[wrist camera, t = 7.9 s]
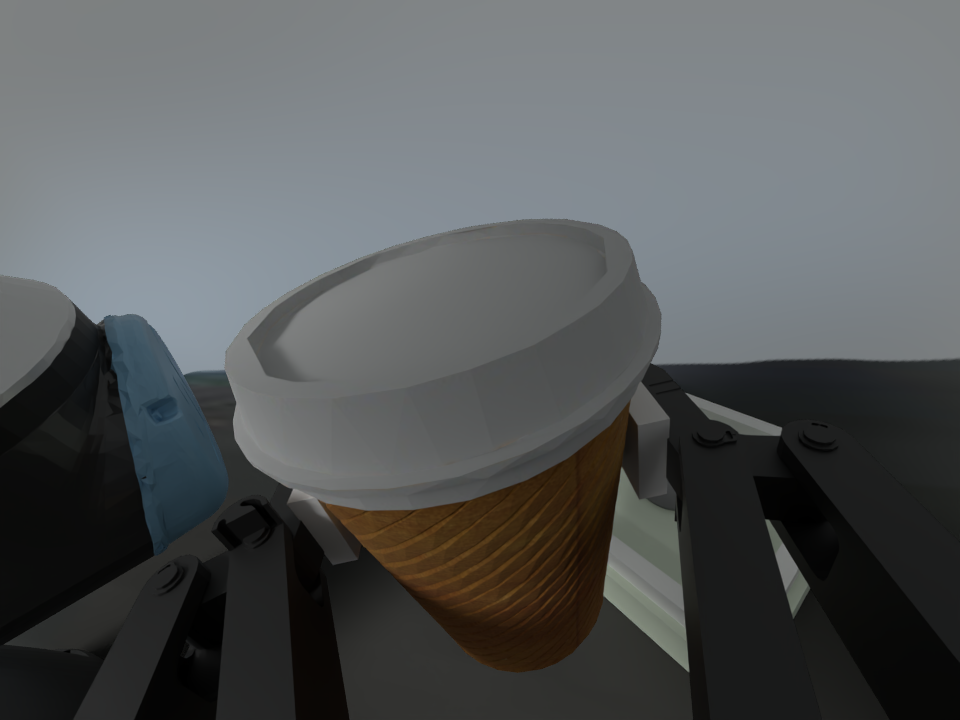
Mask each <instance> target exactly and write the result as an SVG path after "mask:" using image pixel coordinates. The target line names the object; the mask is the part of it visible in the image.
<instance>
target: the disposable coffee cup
mask: <svg viewBox="0 0 960 720" xmlns="http://www.w3.org/2000/svg"><path fill="white" fill-rule="evenodd" d="M660 334H661V312H660V309H659V306H658V303H657V301H656V298H655V296H654V295H653V294H652V293H651V291H650V290H649V289H648V288H647V286H646V285H645V284H643V283H642V282H641V280H640V277H639V273H638V269H637V266H636V262H635V258H634V255H633V251H632V249H631V247H630V245H629V243H628V241H627V239H625V238H624V237H623V236H621V235H620V234H619V233H618V232H617V231H614V230H612V229H609V228H607V227H604V226H602V225H598V224H592V223H586V222H580V221H574V220H568V219H529V220H516V221H508V222H500V223H493V224H485V225H478V226H471V227H466V228H462V229H457V230H453V231H448V232H445V233H440V234H436V235H431V236H427V237H423V238H420V239H416V240H413V241H409V242H406V243H403V244H399V245H395V246H392V247H389V248H387V249H384V250H381V251H378V252H375V253H373V254H370V255H367V256H364V257H361V258H359V259H356V260H354V261H352V262H349V263H347V264H345V265H342V266H340V267H338V268H335V269H333V270H331V271H329V272H326V273H324V274H322V275H320V276H318V277H316V278H314V279H312V280H310V281H309V282H307V283H304V284H303V285H301V286H299V287H297V288H295V289H293V290H291V291H289V292H287V293H286V294H284V295H283V296H281V297H280V298H278V299H277V300H275V301H274V302H272V303H271V304H270V305H268V306H267V307H265V308H264V309H262V310H261V311H260V312H259V313H258V314H256V315H255V316H254V317H253V318H252V319H250V320H249V321H248V322H247V323H246V324H245V325H244V326H243V328H242V329H241V330H240V332H239V333H238V335H237V336H236V337H235V339H234V340H233V342H232V343H231V345H230V346H229V347H228V349H227V350H226V355H225V371H226V374H227V377H228V380H229V382H230V385H231V388H232V391H233V394H234V397H235V399H236V402H237V404H236V409H235V414H234V419H233V426H234V434H235V440H236V442H237V443H238V445H239V446H240V448H241V450H242V451H243V453H244V454H245V456H246V458H247V459H248V461H249V462H250V463H251V464H252V465H253V466H254V467H255V468H257V469H259V470H260V471H262V472H264V473H265V474H267V475H268V476H270V477H272V478H273V479H275V480H276V481H278V482H280V483H281V484H283V485H284V486H286V487H288V488H292V489H297V490H299V491H301V492H304V493H306V494H308V495H310V496H312V497H314V498H316V499H318V500H320V501H321V502H322V503H326V507H327V508H328V509H329V510H330V511H331V512H332V513H333V514H334V515H335V516H336V517H337V518H338V519H339V520H341V521H340V522H341V523H342V524H343V525H344V526H345V527H346V528H347V529H348V530H349V531H350V532H351V533H352V534H354V535H355V537H356V538H357V539H358V541H359V542H360V543H361V544H362V545H363V547H365V548H366V549H367V550H368V551H369V552H370V553H371V554H372V555H373V556H374V557H375V558H376V559H377V560H378V561H379V562H380V563H381V564H382V565H383V566H384V567H385V568H386V569H387V570H388V571H389V572H390V573H391V574H392V576H393V577H394V578H395V579H396V580H397V581H398V582H399V583H400V584H401V585H402V586H403V587H404V588H405V589H406V590H407V591H408V592H409V594H410V595H411V596H412V597H413V598H414V599H415V600H416V601H417V602H418V603H419V604H420V605H421V606H422V607H423V608H424V609H425V610H426V611H427V612H428V613H429V614H430V615H431V616H432V617H433V618H434V619H435V620H436V621H437V622H438V623H439V624H440V625H441V626H442V627H443V628H444V630H445V631H446V632H447V633H448V634H449V635H450V636H451V637H452V638H453V639H454V640H455V641H456V643H457V644H458V645H459V646H460V647H461V648H462V649H463V650H464V651H465V652H466V653H467V654H468V655H470V656H471V657H473V658H474V659H476V660H477V661H478V662H480V663H482V664H484V665H487V666H489V667H492V668H495V669H497V670H502V671H510V672H517V673H518V672H525V671H532V670H538V669H543V668H545V667H548V666H551V665H553V664H556V663H558V662H559V661H561V660H562V659H564V658H565V657H567V656H568V655H570V654H571V653H573V652H574V650H575V649H576V648H577V647H578V646H579V645H580V644H581V643H582V641H583V640H584V639H585V638H586V637H587V636H588V635H589V633H590V631H591V630H592V628H593V626H594V624H595V623H596V621H597V618H598V615H599V612H600V609H601V606H602V602H603V593H604V584H605V576H606V571H607V563H608V556H609V550H610V543H611V538H612V530H613V522H614V514H615V506H616V501H617V496H618V486H619V482H620V473H621V467H622V460H623V452H624V447H625V438H626V431H627V426H628V416H629V407H630V402H631V398H632V397H633V396H634V394H635V392H636V390H637V387H638V384H639V383H640V382H641V381H642V379H643V377H644V375H645V373H646V371H647V369H648V367H649V365H650V363H651V361H652V359H653V357H654V355H655V353H656V351H657V349H658V345H659V339H660Z"/></svg>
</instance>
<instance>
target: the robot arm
mask: <svg viewBox="0 0 960 720" xmlns="http://www.w3.org/2000/svg"><path fill="white" fill-rule="evenodd" d="M622 468H623V470H624V472H625V473H626V475H627V477H628V479H629V481H630V483H631V485H632V487H633V489H634V491H635V492H636V494H637V496H638V498H639V500H640V499H645V498H650V497H654V496H659V495H664V494H667V480H668V481H669V483H670V485H671V486H672V488H673V489H674V491H675V492H676V502H675V520H674V521H676V522H677V528H678V541H679V553H680V565H681V577H682V589H683V601H684V614H685V626H686V638H687V650H688V662H689V674H690V686H691V699H692V711H693V720H822V718H821V714H820V711H819V707H818V704H817V700H816V696H815V693H814V689H813V686H812V682H811V679H810V675H809V672H808V668H807V665H806V661H805V658H804V654H803V651H802V647H801V644H800V640H799V637H798V633H797V630H796V626H795V623H794V619H793V616H792V612H791V609H790V605H789V601H788V598H787V594H786V591H785V587H784V584H783V580H782V577H781V573H780V570H779V566H778V563H777V559H776V556H775V552H774V549H773V545H772V542H771V538H770V535H769V531H768V528H767V524H766V521H765V519H766V520H769V521H770V522H771V524H772V526H773V527H774V529H775V531H776V532H777V534H778V536H779V537H780V539H781V540H782V542H783V544H784V545H785V547H786V549H787V550H788V552H789V554H790V555H791V557H792V559H793V560H794V562H795V564H796V565H797V567H798V569H799V570H800V572H801V574H802V575H803V577H804V579H805V580H806V582H807V583H808V585H809V587H810V588H811V590H812V592H813V593H814V595H815V597H816V598H817V600H818V602H819V603H820V605H821V607H822V608H823V610H824V612H825V613H826V615H827V617H828V618H829V620H830V621H831V623H832V625H833V626H834V628H835V630H836V631H837V633H838V635H839V636H840V638H841V640H842V641H843V643H844V645H845V646H846V648H847V650H848V651H849V653H850V655H851V656H852V658H853V660H854V661H855V663H856V664H857V666H858V668H859V669H860V671H861V673H862V674H863V676H864V678H865V679H866V681H867V683H868V684H869V686H870V688H871V689H872V691H873V693H874V694H875V696H876V698H877V699H878V701H879V703H880V704H881V706H882V707H883V709H884V711H885V712H886V714H887V716H888V717H889V719H890V720H960V542H959V541H958V540H957V539H956V538H955V537H954V536H953V535H952V534H951V533H950V532H949V531H948V530H947V529H946V528H945V527H944V526H943V525H942V524H941V523H940V522H939V521H938V520H937V519H936V518H935V517H934V516H933V515H932V514H931V513H930V512H929V511H928V510H927V509H926V508H925V507H924V506H923V505H922V504H921V503H920V502H919V501H917V500H916V499H915V498H914V497H913V496H912V495H911V494H910V493H909V492H908V491H907V490H906V489H905V488H904V487H903V486H902V485H901V484H900V483H899V482H898V481H897V480H896V479H895V478H894V477H893V476H892V475H891V474H890V473H889V472H888V471H887V470H886V469H885V468H884V467H883V466H882V465H881V464H880V463H879V462H878V461H877V460H876V459H875V458H874V457H873V456H872V455H871V454H870V453H869V452H868V451H867V450H866V449H865V448H864V447H863V446H861V445H860V444H859V443H858V442H857V441H856V440H855V439H854V438H853V437H852V436H851V435H850V434H848V433H847V432H845V431H844V430H843V429H841V428H839V427H836V426H834V425H832V424H829V423H826V422H821V421H817V420H796V421H792V422H789V423H787V424H786V425H785V426H783V427H782V431H781V435H780V436H766V435H744V434H739V433H738V431H736V430H735V429H734V428H732V427H731V426H730V425H727V424H725V423H722V422H720V421H716V420H710V419H709V418H708V417H707V416H706V415H705V414H704V413H703V412H702V411H701V409H700V408H699V407H698V406H697V405H696V404H695V403H694V402H693V401H692V400H691V399H690V398H689V396H688V395H687V394H686V393H685V392H684V391H683V390H681V389H680V387H679V386H678V384H677V383H676V382H674V381H673V379H672V378H671V377H670V376H669V375H668V374H667V373H666V371H665V370H663V369H661V368H659V367H657V366H655V365H653V364H651V363H650V365H649V367H648V369H647V371H646V373H645V375H644V377H643V379H642V381H641V382H640V383H639V384H638V387H637V390H636V392H635V394H634V396H633V397H632V398H631V402H630V407H629V416H628V426H627V431H626V438H625V447H624V452H623V460H622ZM227 491H228V475H227V470H226V467H225V464H224V461H223V458H222V455H221V453H220V450H219V448H218V446H217V443H216V441H215V438H214V436H213V434H212V432H211V430H210V427H209V425H208V423H207V421H206V419H205V417H204V415H203V413H202V411H201V409H200V407H199V405H198V402H197V400H196V398H195V397H194V395H193V393H192V391H191V389H190V387H189V385H188V383H187V381H186V380H185V378H184V376H183V374H182V372H181V370H180V369H179V367H178V365H177V364H176V362H175V360H174V358H173V357H172V355H171V353H170V352H169V350H168V348H167V347H166V345H165V344H164V342H163V341H162V339H161V337H160V336H159V335H158V333H157V332H156V331H155V329H154V328H152V327H151V326H150V325H149V324H148V323H147V321H146V320H145V319H144V318H143V317H141V316H139V315H135V314H127V315H124V316H116V315H115V316H111V315H109V316H106V317H104V320H102V321H101V322H100V323H98V324H97V325H96V324H94V323H93V322H92V321H91V320H90V319H88V317H87V316H85V314H83V313H82V311H81V310H80V309H79V308H78V307H76V305H75V304H74V303H73V302H71V300H70V299H69V298H68V297H67V296H66V295H64V294H63V293H62V292H61V291H59V290H58V289H57V288H56V287H54V286H51V285H49V284H47V283H43V282H39V281H35V280H30V279H23V278H16V277H10V276H3V275H0V720H349V714H348V708H347V702H346V695H345V689H344V683H343V677H342V671H341V665H340V659H339V653H338V647H337V641H336V634H335V628H334V622H333V616H332V610H331V604H330V598H329V592H328V586H327V580H326V576H325V574H324V572H323V570H322V569H321V568H320V566H321V562H322V559H323V556H324V554H325V555H326V557H327V558H328V559H329V561H330V562H331V563H332V565H335V564H340V563H344V562H349V561H354V560H358V558H359V553H360V548H361V543H360V542H359V541H358V539H357V538H356V537H355V535H354V534H352V533H351V532H350V531H349V530H348V529H347V528H346V527H345V526H344V525H343V524H342V523H341V522H340V521H341V520H339V519H338V518H337V517H336V516H335V515H334V514H333V513H332V512H331V511H330V510H329V509H328V508H327V507H326V503H322V502H321V501H320V500H318V499H316V498H314V497H312V496H310V495H308V494H306V493H304V492H301V491H299V490H297V489H292V488H288V487H286V486H284V485H283V484H281V483H280V482H279V484H278V486H277V488H276V491H275V493H274V495H273V497H272V499H271V501H270V503H269V502H268V500H267V499H266V498H265V497H263V496H261V495H251V496H248V497H245V498H243V499H240V500H239V501H237V502H236V503H234V504H232V505H231V506H230V507H228V508H227V509H226V510H225V511H224V512H223V513H222V514H221V515H220V516H219V518H218V519H217V520H216V522H215V523H214V525H213V528H212V531H211V532H212V533H213V534H214V535H215V536H216V537H217V538H218V539H219V540H220V541H221V542H222V543H223V544H224V546H225V547H226V548H227V549H228V550H229V551H227V552H225V553H223V554H221V555H218V556H216V557H214V558H212V559H210V560H208V561H206V562H204V563H202V562H201V561H200V560H199V559H198V558H197V557H196V556H193V555H190V554H189V555H184V556H180V557H178V558H176V559H174V560H172V561H170V562H168V563H167V564H166V565H164V566H163V567H162V568H160V569H159V570H158V571H157V572H156V573H155V574H154V575H153V576H152V577H151V578H150V579H149V580H148V581H147V583H146V584H145V586H144V587H143V589H142V590H141V592H140V594H139V596H138V597H137V599H136V601H135V603H134V605H133V607H132V609H131V611H130V613H129V615H128V616H127V618H126V620H125V622H124V624H123V626H122V628H121V630H120V632H119V634H118V635H117V637H116V639H115V641H114V643H113V645H112V647H111V649H110V651H109V653H108V654H107V656H106V658H105V660H103V659H101V658H100V657H98V656H96V655H94V654H93V653H90V652H87V651H84V650H79V649H56V650H47V649H39V648H31V647H22V646H11V645H3V644H5V643H6V642H8V641H10V640H12V639H13V638H15V637H17V636H18V635H20V634H22V633H23V632H25V631H27V630H29V629H30V628H32V627H34V626H35V625H37V624H39V623H40V622H42V621H44V620H46V619H47V618H49V617H51V616H52V615H54V614H56V613H57V612H59V611H61V610H63V609H64V608H66V607H68V606H69V605H71V604H73V603H74V602H76V601H78V600H80V599H81V598H83V597H85V596H86V595H88V594H90V593H91V592H93V591H95V590H97V589H98V588H100V587H102V586H103V585H105V584H107V583H108V582H110V581H112V580H114V579H115V578H117V577H119V576H120V575H122V574H124V573H125V572H127V571H129V570H131V569H132V568H134V567H136V566H137V565H139V564H141V563H142V562H144V561H146V560H148V559H149V558H151V557H153V556H154V555H155V556H157V555H159V554H161V553H162V552H164V551H165V550H166V549H167V547H168V545H169V544H170V543H172V542H173V541H175V540H176V539H178V538H179V537H181V536H182V535H184V534H185V533H187V532H188V531H190V530H191V529H193V528H194V527H196V526H197V525H199V524H200V523H202V522H203V521H205V520H206V519H208V518H209V517H210V516H212V515H213V514H214V513H215V512H216V511H217V510H218V509H219V508H220V506H221V505H222V503H223V502H224V500H225V498H226V494H227ZM185 642H187V643H188V644H189V648H188V651H187V653H186V655H185V656H184V658H182V657H180V654H181V652H182V649H183V646H184V644H185Z"/></svg>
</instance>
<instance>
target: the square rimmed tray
mask: <svg viewBox="0 0 960 720" xmlns="http://www.w3.org/2000/svg"><path fill="white" fill-rule="evenodd" d="M686 394H687V393H686ZM687 395H688V396H689V398H690V399H691V400H692V401H693V402H694V403H695V404H696V405H697V406H698V407H699V408H700V409H701V411H702V412H703V413H704V414H705V415H706V416H707V417H708V418H709V419H710V420H716V421H720V422H722V423H725V424H727V425H730V426H731V427H732V428H734V429H735V430H736V431H738V433H739V434H744V435H766V436H780V435H781V431H782V428H781V427H778V426H775V425H773V424H770V423H767V422H764V421H762V420H759V419H756V418H753V417H751V416H748V415H745V414H742V413H740V412H737V411H734V410H731V409H729V408H726V407H723V406H720V405H718V404H715V403H712V402H709V401H707V400H704V399H701V398H698V397H696V396H693V395H690V394H687ZM675 502H676V492H675V491H674V489H673V488H672V486H671V485H670V483H669V481H668V480H667V494H664V495H659V496H654V497H650V498H645V499H640V500H639V498H638V496H637V494H636V492H635V491H634V489H633V487H632V485H631V483H630V481H629V479H628V477H627V475H626V473H625V472H624V470H623V468H622V467H621V473H620V482H619V486H618V496H617V501H616V506H615V514H614V522H613V530H612V538H611V543H610V550H609V556H608V563H607V571H606V576H605V584H604V593H603V596H605V597H606V598H607V599H608V600H609V601H610V602H611V603H612V604H613V605H615V606H616V607H617V608H618V609H619V610H620V611H621V612H622V613H623V614H625V615H626V616H627V617H628V618H629V619H630V620H631V621H632V622H633V623H635V624H636V625H637V626H638V627H639V628H640V629H641V630H642V631H643V632H645V633H646V634H647V635H648V636H649V637H650V638H651V639H652V640H653V641H655V642H656V643H657V644H658V645H659V646H660V647H661V648H662V649H663V650H665V651H666V652H667V653H668V654H669V655H670V656H671V657H672V658H673V659H675V660H676V661H677V662H678V663H679V664H680V665H681V666H682V667H684V668H685V669H686V670H687V671H688V672H689V662H688V650H687V638H686V626H685V614H684V601H683V589H682V577H681V565H680V553H679V541H678V528H677V522H676V521H674V520H675ZM765 521H766V524H767V528H768V531H769V535H770V538H771V542H772V545H773V549H774V552H775V556H776V559H777V563H778V566H779V570H780V573H781V577H782V580H783V584H784V587H785V591H786V594H787V598H788V601H789V605H790V609H791V612H792V616H793V619H794V617H795V615H796V614H797V612H798V610H799V608H800V606H801V604H802V602H803V601H804V599H805V597H806V595H807V593H808V591H809V590H810V587H809V585H808V583H807V582H806V580H805V579H804V577H803V575H802V574H801V572H800V570H799V569H798V567H797V565H796V564H795V562H794V560H793V559H792V557H791V555H790V554H789V552H788V550H787V549H786V547H785V545H784V544H783V542H782V540H781V539H780V537H779V536H778V534H777V532H776V531H775V529H774V527H773V526H772V524H771V522H770V521H769V520H766V519H765Z"/></svg>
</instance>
